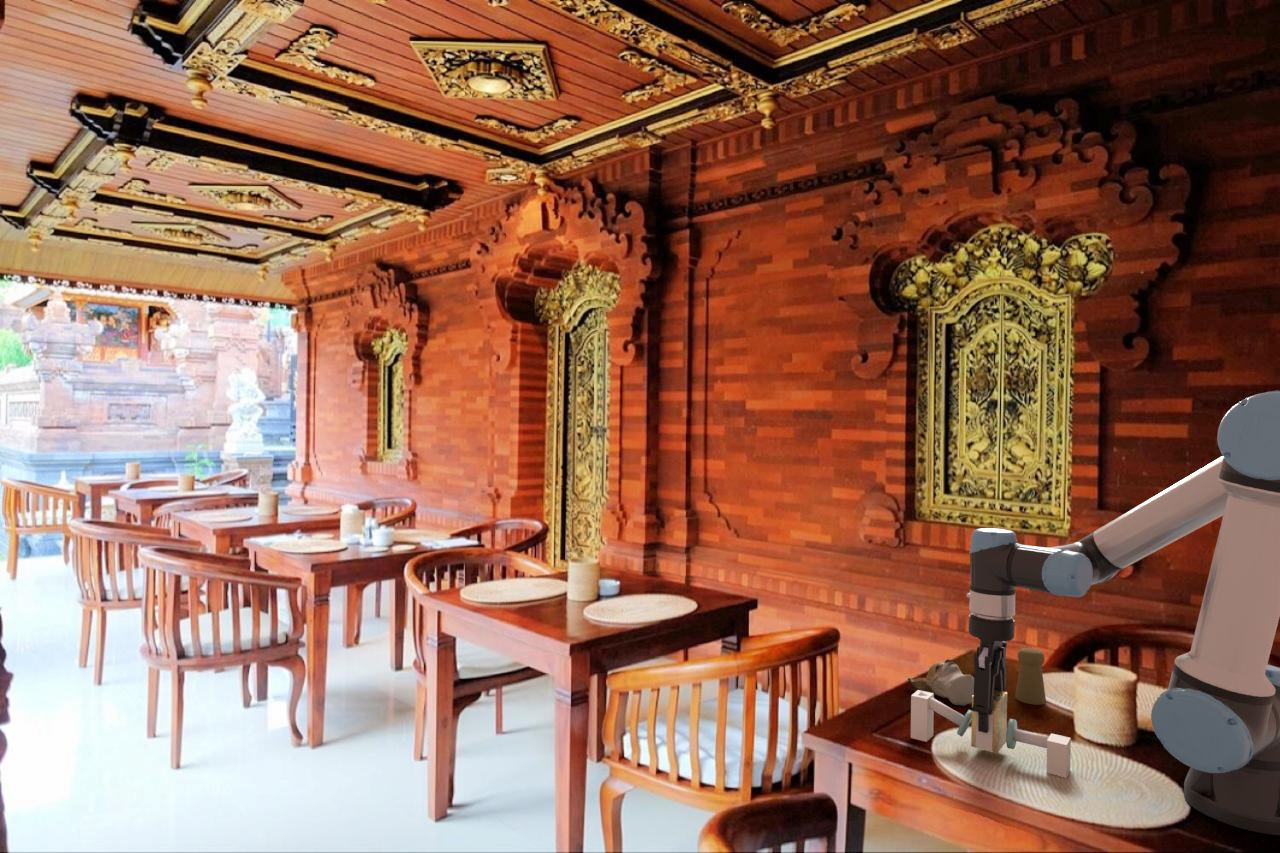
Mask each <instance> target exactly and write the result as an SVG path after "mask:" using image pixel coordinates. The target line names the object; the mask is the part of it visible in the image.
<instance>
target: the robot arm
mask: <svg viewBox="0 0 1280 853" xmlns="http://www.w3.org/2000/svg"><path fill="white" fill-rule="evenodd" d="M1217 446H1218V448H1219V451H1220V453H1221V456H1220V457H1218V458H1217V459H1215V460H1213V461H1212V462H1210V463H1208V464H1207V465H1205V466H1204V467H1202V468H1199V469H1198V470H1196V471H1195V472H1193V473H1191V474H1190V475H1188V476H1186V477H1184V478H1183V479H1181V480H1179V481H1178V482H1175V483H1174V484H1173V485H1171V486H1169V487H1167V488H1166V489H1164V490H1163V491H1160V492H1159V493H1158V494H1156V495H1154V496H1152V497H1150V498H1149V499H1146V501H1143V502H1142V503H1141V504H1139V505H1136V506H1135V507H1134V508H1131V509H1130V510H1129V511H1127V512H1125V513H1124V514H1122V515H1119V516H1118V517H1117V518H1115V519H1114V520H1111V521H1109V522H1108V523H1106V524H1104V525H1103V526H1101V527H1099V528H1098V529H1096V530H1095V531H1093V532H1092V533H1089V534H1087V535H1086V536H1084V537H1083V538H1081V539H1079V540H1078V541H1076V542H1073V543H1070V544H1069V543H1068V544H1064V545H1063V544H1062V545H1058V546H1056V545H1055V546H1051V547H1047V546H1045V547H1044V546H1035V545H1034V546H1033V545H1027V544H1022V543H1018V539H1017V534H1016V532H1014V531H1012V530H1009V529H1004V528H990V527H985V528H982V527H981V528H976V529H975V530H973V531H972V532H971V537H970V549H969V551H968V554H969V562H970V563H969V592H967V593H966V595H965V596H966V598H967V599H969V606H968V607H969V609H968V610H969V611H970V612H971V613H970V614H969V615H968V633H969V635H970V636H972V637H974V638H977V639H978V640H980V642H979V646H977V647H976V652H975V654H974V656H973V659H974V660H973V661H974V662H973V663H974V665H973V666H974V674H973V675H974V676H973V678H974V696H973V707H972V706H970V710H971V711H975V712H976V747H975V749H980V750H984V751H986V752H987V751H988V752H991V753H993V752H992V751H993V716H994V713H992V704H993V693H994V690H999V691H1003V692H1007V682H1006V681H1007V677H1006V676H1007V667H1006V666H1007V655H1006V654H1007V648H1008V644H1007V642H1009V641H1012V640H1014V638H1015V626H1016V624H1015V622H1016V620H1015V619H1014V616H1015V615H1016V588H1022V589H1027V590H1032V591H1037V592H1041V593H1047V594H1052V595H1055V596H1057V597H1069V598H1081V597H1084V596H1085V595H1086V594H1087V592H1088V591H1089V590H1090V588H1091V586H1093V585H1094V586H1095V585H1100V584H1103V583H1105V582H1107V581H1109V580H1111V579H1113V578H1114V577H1115V575H1116V574H1117V573H1119V572H1120V571H1121V570H1123V569H1125V568H1127V567H1129V566H1130V565H1133V564H1135V563H1137V562H1139V561H1140V560H1142V559H1144V558H1145V557H1148V556H1149V555H1152V554H1153V553H1155V552H1157V551H1159V550H1160V549H1163V548H1165V547H1166V546H1168V545H1170V544H1172V543H1174V542H1176V541H1178V540H1179V539H1182V538H1183V537H1185V536H1187V535H1189V534H1191V533H1193V532H1194V531H1196V530H1198V529H1200V528H1202V527H1204V526H1206V525H1207V524H1210V523H1211V522H1213V521H1215V520H1217V519H1219V518H1220V517H1222V519H1221V525H1220V528H1219V532H1218V536H1217V541H1216V545H1215V549H1214V553H1213V557H1212V560H1211V565H1210V569H1209V574H1208V577H1207V582H1206V585H1205V589H1204V594H1203V598H1202V600H1201V601H1202V603H1201V606H1200V611H1199V614H1198V619H1197V622H1196V627H1195V631H1194V635H1193V639H1192V642H1191V648H1190V651H1188V652H1186V653H1183V654H1181V655H1178V656H1176V657H1175V659H1174V663H1173V666H1172V671H1171V675H1170V680H1169V685H1168V688H1167V690H1165V691H1162V693H1160V694H1159V696H1158V697H1157V698H1156V700H1155V702H1154V703H1153V705H1152V708H1151V713H1150V714H1151V715H1150V717H1151V718H1150V720H1151V725H1152V726H1151V727H1152V729H1153V731H1154V733H1155V735H1156V738H1157V739H1158V740H1159V741H1160V743H1161V744H1162V746H1163V748H1164V749H1165V750H1166V751H1167V752H1168V753H1169V754H1170V755H1171V756H1172V757H1174V759H1177V760H1178V761H1179V762H1180V763H1182V764H1183V765H1186V766H1187V767H1190V768H1189V770H1188V772H1187V774H1186V776H1185V779H1184V783H1183V786H1184V787H1183V797H1184V800H1185V801H1186V802H1187V804H1188V805H1190V806H1191V807H1192V808H1194V809H1195V810H1196V811H1198V812H1200V813H1202V814H1204V815H1205V816H1207V817H1209V818H1212V819H1214V820H1216V821H1218V822H1221V823H1224V824H1226V825H1229V826H1232V827H1236V828H1238V829H1242V830H1246V831H1250V832H1255V833H1259V834H1265V835H1272V836H1280V667H1277V666H1274V665H1270V664H1268V663H1269V659H1270V655H1271V651H1272V647H1273V644H1274V641H1275V636H1276V632H1277V627H1278V625H1279V620H1280V390H1272V391H1266V392H1261V393H1258V394H1254V395H1251V396H1249V397H1246V398H1245V399H1242V400H1241V401H1239V402H1238V403H1236V404H1235V405H1233V406H1232V407H1231V408H1230V409H1229V410H1228V411H1227V412H1226V413H1225V415H1224V416H1223V418H1222V419H1221V421H1220V424H1219V426H1218V429H1217ZM1008 701H1009V696H1007V702H1008Z"/></svg>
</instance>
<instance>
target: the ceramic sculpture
mask: <svg viewBox="0 0 1280 853" xmlns="http://www.w3.org/2000/svg"><path fill="white" fill-rule="evenodd" d="M907 680H908V682H909V683H910V684H911V685H912V686H913V687H915V688H916V689H917V690H920V691H925V692H930V693H934V695H936V696H938V697H941V698H944V699H948V700H949V701H950V703H951V704H952V705H956V706H961V707H964V706H967V705H969V704H972V696H973V695H974V676H973V675H971V674H963V672H962V670H961V669H960V667H959V665H958V664H957V663H955V662H954V661H952V660H951V659H948V658H947V659H945V661H944V662H938V663H934V664H932V665H931V666H930V667H929V669H928V672H927V675H926V677H917V678H911V677H908V678H907Z"/></svg>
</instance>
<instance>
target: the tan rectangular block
mask: <svg viewBox="0 0 1280 853" xmlns="http://www.w3.org/2000/svg"><path fill="white" fill-rule="evenodd" d="M973 696H974V695H973ZM973 696H972V702H971V707H973ZM1007 697H1008V692H1007V691H1006V692H1003V691H999V690H994V693H993V704H992V713H994V716H993V751H992V752H991V753H996V754H998V753H999V752H1000V751H1001V749H1002V748H1003V746H1005V745H1006V731H1007V725H1008V720H1007V718H1008V715H1007V714H1008V712H1007V711H1008V701H1007ZM970 736H971V740H970V746H971V747H972V748H976V712H975V711H972V720H971V733H970Z"/></svg>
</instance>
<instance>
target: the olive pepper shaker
mask: <svg viewBox="0 0 1280 853" xmlns="http://www.w3.org/2000/svg"><path fill="white" fill-rule="evenodd" d="M1017 652H1018V653H1017V660H1018V662H1019V670H1018V675H1017V684H1016V690H1015V695H1014V698H1015V699H1016V700H1017V701H1019V702H1021V703H1024V704H1029V705H1035V706H1036V705H1038V706H1039V705H1045V704H1046V703H1047V698H1046V691H1045V690H1046V689H1045V682H1044V674H1043V668H1042V667H1043V665H1044V663H1045V655H1044V653H1043V651H1041V649H1040V650H1039V649H1037V648H1034V647H1033V648H1032V647H1022V648H1020V649H1018V651H1017Z"/></svg>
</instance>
